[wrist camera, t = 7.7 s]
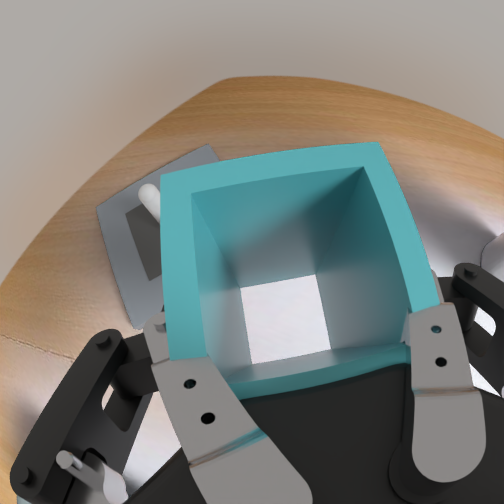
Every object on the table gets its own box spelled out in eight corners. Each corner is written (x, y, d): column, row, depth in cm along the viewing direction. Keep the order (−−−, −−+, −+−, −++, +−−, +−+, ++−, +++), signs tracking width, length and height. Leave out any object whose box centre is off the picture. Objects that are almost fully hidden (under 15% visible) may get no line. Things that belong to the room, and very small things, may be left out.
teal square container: (325, 258, 16) (378, 141, 7) (347, 359, 14) (451, 362, 5) (224, 276, 16) (160, 175, 7) (240, 380, 14) (180, 424, 5)
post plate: (210, 150, 37) (195, 100, 28) (277, 254, 31) (278, 214, 22) (101, 212, 35) (63, 176, 26) (139, 329, 29) (91, 318, 20)
